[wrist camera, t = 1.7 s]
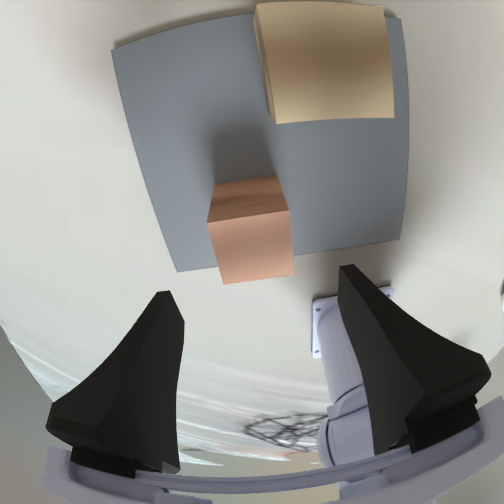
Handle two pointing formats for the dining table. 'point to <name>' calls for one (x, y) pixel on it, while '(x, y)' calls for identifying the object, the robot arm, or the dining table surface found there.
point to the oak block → (324, 60)
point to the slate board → (256, 142)
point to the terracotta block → (251, 230)
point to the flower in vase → (502, 303)
